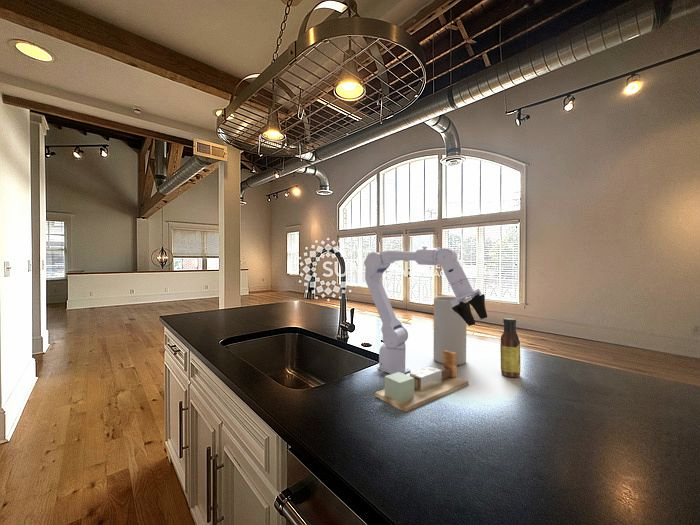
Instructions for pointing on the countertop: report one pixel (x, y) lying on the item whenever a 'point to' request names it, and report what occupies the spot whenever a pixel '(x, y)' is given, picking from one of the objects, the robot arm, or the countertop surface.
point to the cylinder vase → (448, 330)
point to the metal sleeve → (428, 378)
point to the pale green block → (399, 386)
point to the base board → (425, 394)
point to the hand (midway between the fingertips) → (478, 321)
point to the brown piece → (445, 366)
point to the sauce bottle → (510, 349)
